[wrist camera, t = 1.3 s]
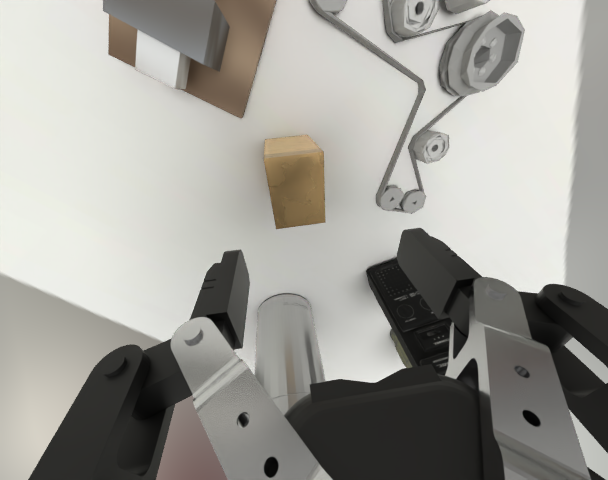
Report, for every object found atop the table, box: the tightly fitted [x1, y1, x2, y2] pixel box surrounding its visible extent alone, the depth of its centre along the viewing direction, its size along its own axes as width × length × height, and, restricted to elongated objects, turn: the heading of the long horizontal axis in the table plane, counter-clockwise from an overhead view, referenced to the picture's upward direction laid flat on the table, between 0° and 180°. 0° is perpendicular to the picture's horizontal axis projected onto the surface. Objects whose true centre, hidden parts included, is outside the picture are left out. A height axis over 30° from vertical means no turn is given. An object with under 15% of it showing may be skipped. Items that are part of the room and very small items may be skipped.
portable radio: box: [366, 259, 452, 376], centre depth 25 cm, size 8×6×25 cm
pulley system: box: [309, 0, 525, 214], centre depth 20 cm, size 27×5×15 cm
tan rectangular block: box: [264, 135, 325, 229], centre depth 21 cm, size 6×4×8 cm
